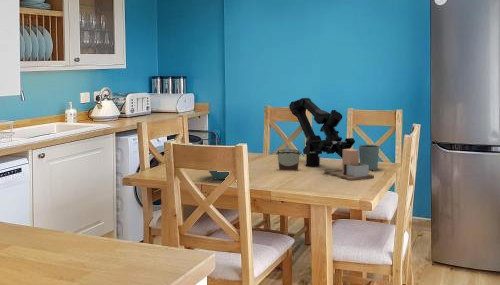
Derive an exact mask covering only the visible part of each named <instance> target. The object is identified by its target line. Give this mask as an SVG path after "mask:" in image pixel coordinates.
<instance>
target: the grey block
mask: <svg viewBox="0 0 500 285" xmlns="http://www.w3.org/2000/svg"><path fill="white" fill-rule="evenodd" d="M369 174H370V173H369V165H365V164H361V163H360V162H359V166H353V165H349V164H344V175H348V176H351V177H363V176H368V175H369Z"/></svg>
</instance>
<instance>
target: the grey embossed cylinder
mask: <svg viewBox="0 0 500 285" xmlns="http://www.w3.org/2000/svg"><path fill="white" fill-rule="evenodd" d="M358 150H359V163H361V164H365V165H369V171H370V172H372V170H374V171H377V170H378V169H379V168H378V165H379V154H380V153H379V151H380V145H378V144H361V145H359V144H358Z"/></svg>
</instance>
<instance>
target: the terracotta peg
mask: <svg viewBox="0 0 500 285" xmlns="http://www.w3.org/2000/svg"><path fill="white" fill-rule="evenodd" d="M341 159H342V162H341V163H342V164H341V165H342V172H343V173H344V164H349V165H353V166H359V163H360V155H359V149H354V148H350V149H343V158H341Z"/></svg>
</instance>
